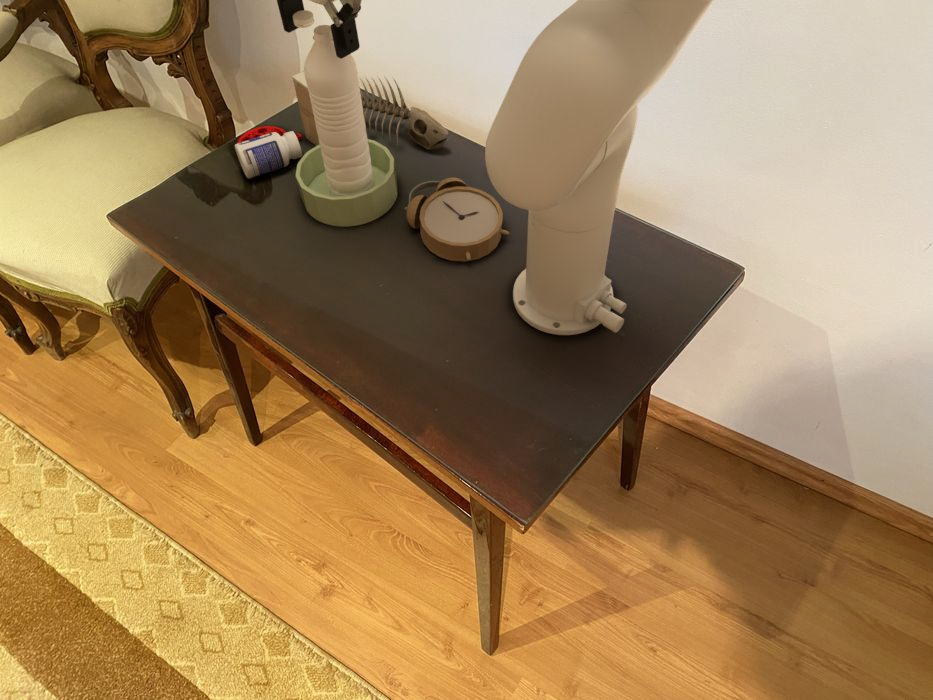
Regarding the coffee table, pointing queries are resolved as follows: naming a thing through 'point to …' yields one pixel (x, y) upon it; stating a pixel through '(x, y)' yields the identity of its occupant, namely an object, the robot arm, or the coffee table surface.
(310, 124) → the box
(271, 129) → the ornament
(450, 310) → the coffee table surface
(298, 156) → the pill bottle
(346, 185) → the plastic bottle and lid
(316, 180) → the holder
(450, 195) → the alarm clock
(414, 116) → the fish skeleton
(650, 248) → the coffee table surface
